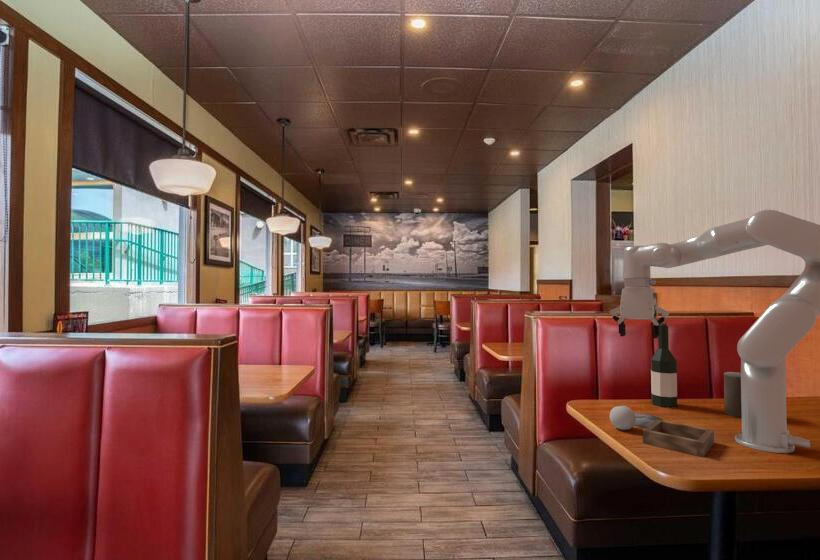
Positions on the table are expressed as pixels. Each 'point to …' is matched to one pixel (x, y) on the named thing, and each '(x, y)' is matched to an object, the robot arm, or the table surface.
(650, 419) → the gray round disc
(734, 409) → the pillar candle
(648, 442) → the frame
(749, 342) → the robot arm
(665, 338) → the wine bottle
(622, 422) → the eyeball on stick
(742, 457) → the table surface
